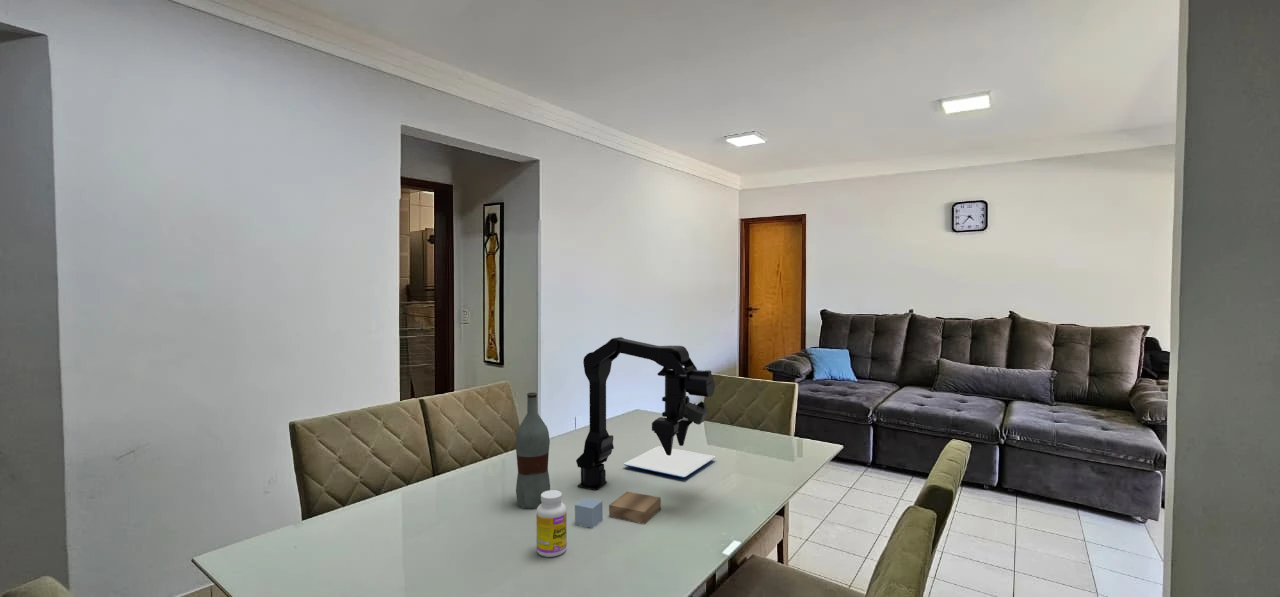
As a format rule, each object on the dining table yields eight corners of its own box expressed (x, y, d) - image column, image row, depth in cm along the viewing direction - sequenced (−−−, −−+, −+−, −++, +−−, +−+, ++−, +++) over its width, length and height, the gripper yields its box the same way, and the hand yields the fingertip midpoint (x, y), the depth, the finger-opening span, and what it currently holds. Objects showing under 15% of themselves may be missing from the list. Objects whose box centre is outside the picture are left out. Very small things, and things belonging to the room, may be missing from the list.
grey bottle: (534, 493, 156) (532, 388, 155) (557, 500, 151) (556, 392, 150) (508, 504, 148) (507, 394, 147) (532, 512, 143) (531, 398, 142)
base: (609, 516, 140) (609, 505, 140) (627, 502, 149) (626, 491, 149) (644, 523, 136) (644, 511, 136) (660, 508, 145) (660, 497, 145)
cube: (575, 524, 136) (574, 504, 136) (585, 517, 141) (585, 497, 140) (592, 528, 134) (592, 508, 134) (602, 520, 138) (602, 501, 138)
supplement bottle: (553, 561, 118) (552, 502, 118) (530, 553, 122) (529, 496, 121) (572, 548, 124) (572, 492, 123) (550, 541, 127) (549, 486, 127)
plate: (716, 462, 183) (716, 455, 183) (684, 483, 164) (684, 476, 164) (658, 451, 195) (658, 445, 195) (622, 469, 176) (622, 463, 176)
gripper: (691, 403, 136) (691, 465, 137) (714, 389, 153) (714, 444, 154) (650, 398, 141) (650, 458, 141) (677, 386, 158) (677, 439, 158)
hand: (675, 450), depth 149 cm, fingers open, 9 cm apart
